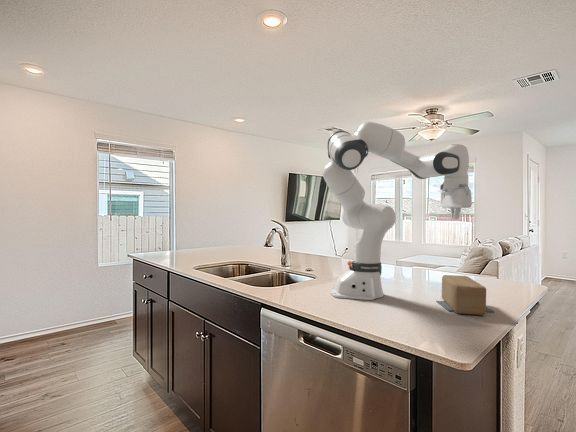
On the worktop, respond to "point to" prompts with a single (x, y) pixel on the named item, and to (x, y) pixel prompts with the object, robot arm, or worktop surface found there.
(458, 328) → the worktop surface
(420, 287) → the worktop surface
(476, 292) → the wooden block
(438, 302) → the mat
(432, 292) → the worktop surface
